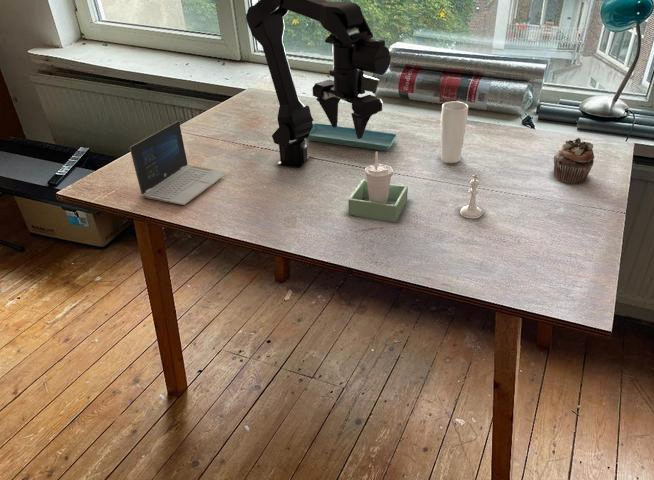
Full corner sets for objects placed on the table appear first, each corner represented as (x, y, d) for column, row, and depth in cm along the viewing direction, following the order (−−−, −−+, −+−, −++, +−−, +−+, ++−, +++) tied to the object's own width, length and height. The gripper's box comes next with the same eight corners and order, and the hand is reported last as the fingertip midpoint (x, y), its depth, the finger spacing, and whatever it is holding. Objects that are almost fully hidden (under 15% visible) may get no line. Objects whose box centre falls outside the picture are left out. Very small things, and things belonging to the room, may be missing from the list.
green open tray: (348, 214, 130) (348, 199, 128) (362, 194, 138) (362, 179, 136) (395, 222, 127) (396, 206, 125) (407, 201, 135) (407, 186, 133)
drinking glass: (462, 166, 151) (467, 110, 142) (436, 164, 152) (440, 109, 143) (463, 155, 156) (469, 101, 147) (438, 153, 157) (443, 100, 148)
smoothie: (363, 201, 135) (363, 146, 127) (390, 200, 135) (391, 145, 127) (366, 215, 130) (365, 158, 122) (393, 214, 130) (395, 157, 122)
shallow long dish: (398, 140, 165) (398, 132, 163) (389, 153, 158) (389, 144, 156) (314, 130, 171) (313, 122, 170) (302, 141, 164) (301, 133, 163)
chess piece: (476, 220, 128) (482, 180, 122) (456, 214, 130) (460, 175, 124) (485, 211, 131) (490, 171, 125) (465, 205, 133) (470, 166, 127)
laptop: (184, 207, 133) (173, 155, 126) (141, 197, 137) (128, 146, 130) (227, 175, 147) (219, 127, 139) (187, 167, 151) (177, 120, 143)
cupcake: (595, 176, 145) (605, 139, 140) (578, 189, 140) (587, 151, 134) (561, 165, 151) (569, 129, 145) (543, 177, 145) (550, 140, 139)
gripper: (401, 68, 125) (398, 135, 135) (346, 50, 137) (347, 113, 146) (363, 78, 119) (363, 148, 129) (309, 59, 131) (312, 124, 140)
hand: (347, 132), depth 136 cm, fingers open, 9 cm apart
